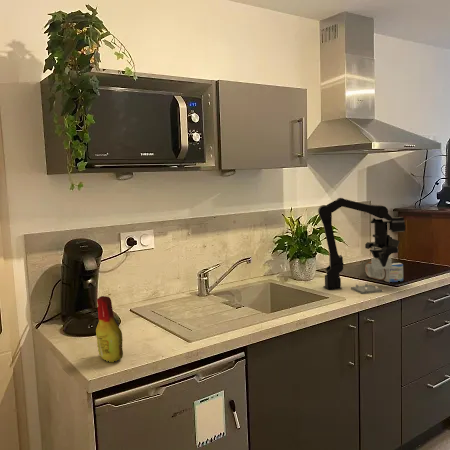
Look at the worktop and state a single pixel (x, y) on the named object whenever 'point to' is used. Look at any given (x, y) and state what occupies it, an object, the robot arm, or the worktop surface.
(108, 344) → the bottle
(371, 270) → the tin
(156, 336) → the worktop surface
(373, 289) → the tray
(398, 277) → the medicine box
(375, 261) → the block
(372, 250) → the robot arm
